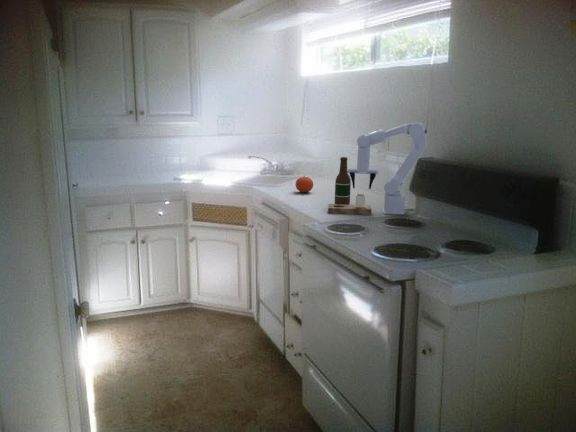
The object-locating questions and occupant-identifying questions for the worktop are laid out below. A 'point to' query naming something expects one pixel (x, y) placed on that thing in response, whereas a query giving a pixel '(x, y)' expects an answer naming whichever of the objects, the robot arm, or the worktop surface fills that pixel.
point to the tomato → (304, 184)
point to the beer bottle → (342, 184)
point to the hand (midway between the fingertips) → (361, 188)
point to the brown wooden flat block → (348, 209)
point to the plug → (360, 200)
